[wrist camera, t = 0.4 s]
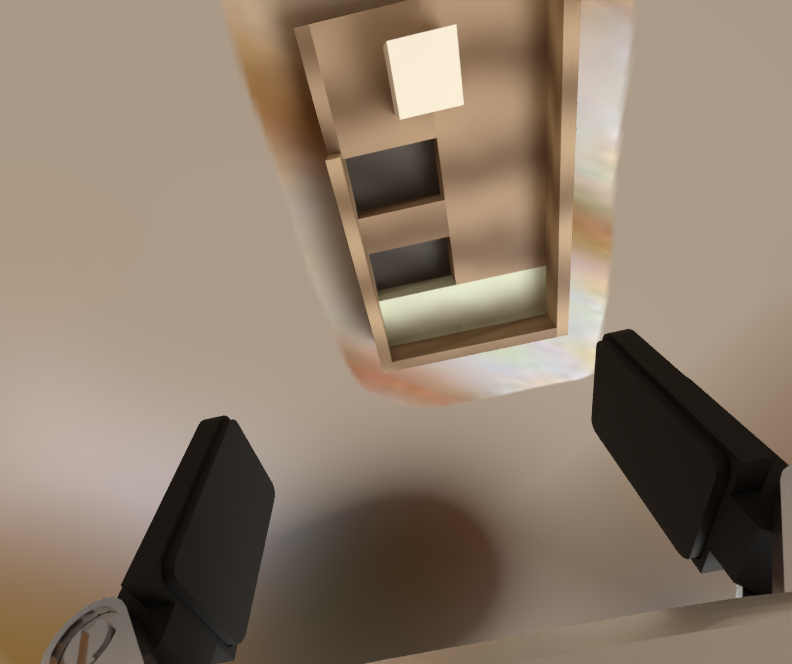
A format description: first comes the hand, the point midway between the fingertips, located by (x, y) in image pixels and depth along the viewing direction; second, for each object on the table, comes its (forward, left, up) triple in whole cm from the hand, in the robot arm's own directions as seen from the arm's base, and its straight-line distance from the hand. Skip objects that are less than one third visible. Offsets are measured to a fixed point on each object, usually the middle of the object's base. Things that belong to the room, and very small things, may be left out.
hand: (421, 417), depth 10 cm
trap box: (+2, +5, -27) cm, 27 cm away
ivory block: (-7, +4, -24) cm, 26 cm away
